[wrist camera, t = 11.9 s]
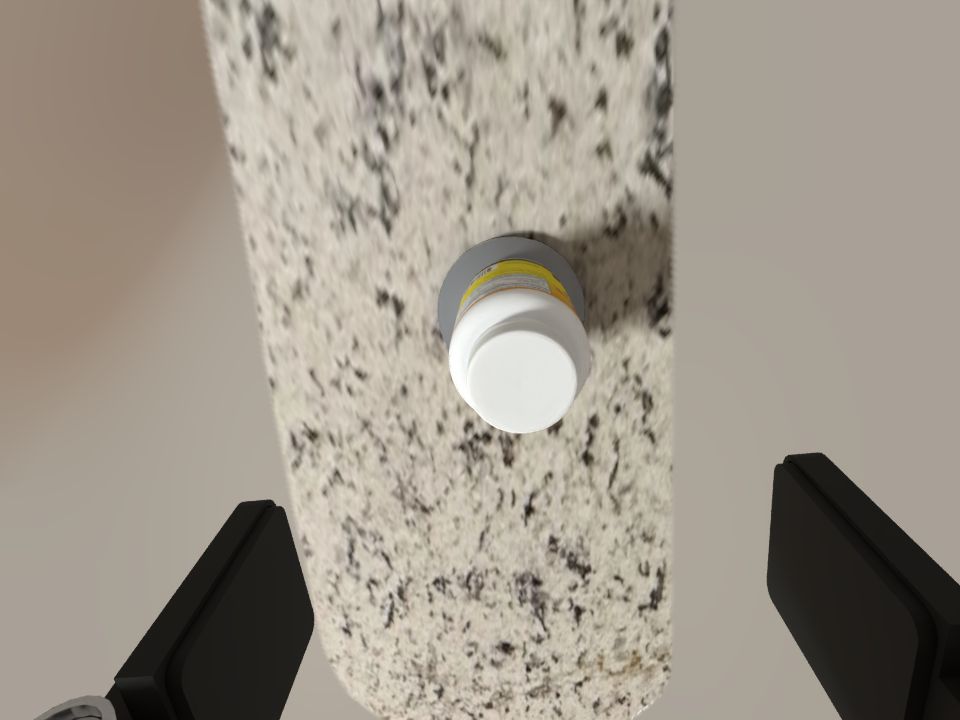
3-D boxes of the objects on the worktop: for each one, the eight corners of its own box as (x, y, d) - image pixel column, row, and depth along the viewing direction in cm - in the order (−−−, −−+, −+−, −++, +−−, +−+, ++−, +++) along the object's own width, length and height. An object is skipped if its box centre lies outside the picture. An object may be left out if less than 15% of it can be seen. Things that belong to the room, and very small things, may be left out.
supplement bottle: (561, 363, 31) (589, 461, 21) (457, 355, 31) (438, 449, 21) (575, 259, 29) (613, 314, 19) (464, 250, 29) (446, 301, 19)
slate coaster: (429, 245, 30) (427, 247, 29) (578, 227, 29) (580, 229, 28) (449, 381, 32) (448, 387, 31) (586, 367, 32) (588, 373, 31)
